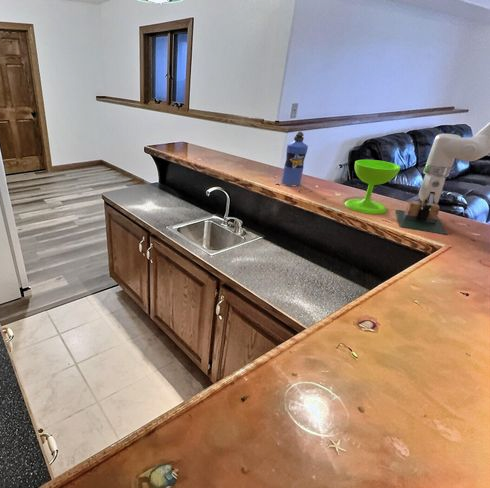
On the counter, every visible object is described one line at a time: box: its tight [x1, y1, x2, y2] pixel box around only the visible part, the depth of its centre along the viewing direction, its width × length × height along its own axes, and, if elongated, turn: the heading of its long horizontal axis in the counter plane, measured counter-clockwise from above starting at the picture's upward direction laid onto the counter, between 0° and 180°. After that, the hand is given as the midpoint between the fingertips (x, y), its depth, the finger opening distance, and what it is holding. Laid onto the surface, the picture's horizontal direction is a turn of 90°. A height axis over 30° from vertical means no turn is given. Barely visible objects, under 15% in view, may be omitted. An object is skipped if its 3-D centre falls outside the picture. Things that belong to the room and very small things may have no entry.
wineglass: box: [343, 159, 402, 215], centre depth 142 cm, size 16×16×18 cm
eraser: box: [403, 199, 441, 224], centre depth 131 cm, size 10×6×6 cm, turn 64°
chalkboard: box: [395, 209, 449, 236], centre depth 131 cm, size 14×20×1 cm
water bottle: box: [281, 131, 309, 186], centre depth 170 cm, size 9×9×25 cm
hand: (419, 216), depth 132 cm, fingers closed on eraser, 5 cm apart
